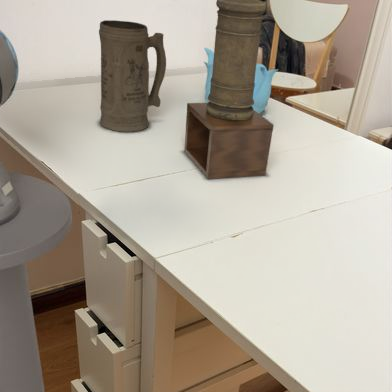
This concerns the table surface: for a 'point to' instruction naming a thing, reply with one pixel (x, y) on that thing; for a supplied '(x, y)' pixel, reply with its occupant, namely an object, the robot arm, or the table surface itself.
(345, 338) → the table surface
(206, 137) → the shelf
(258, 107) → the teapot
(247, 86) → the container
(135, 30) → the beer stein
